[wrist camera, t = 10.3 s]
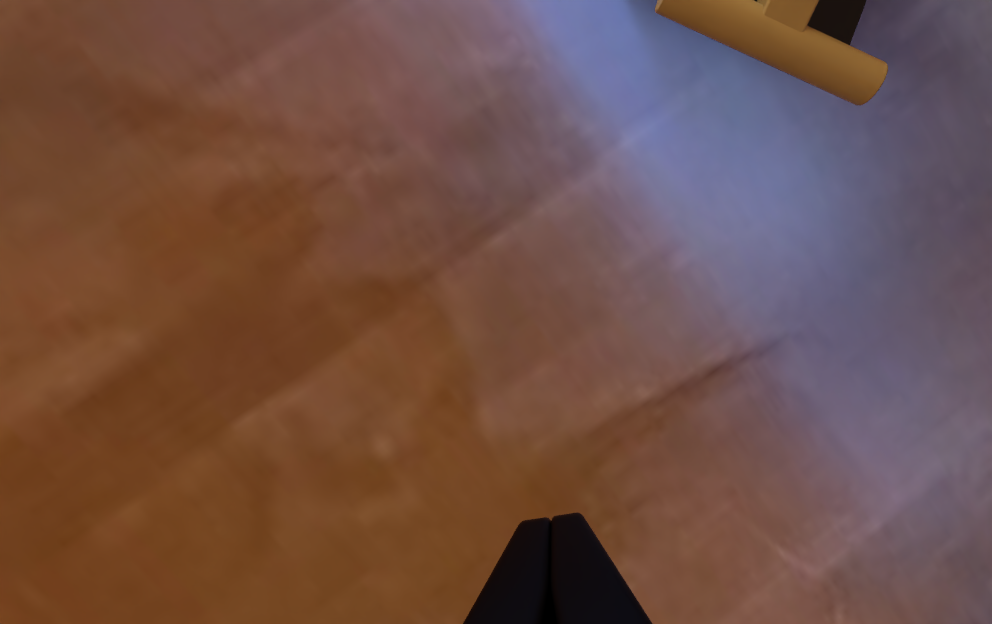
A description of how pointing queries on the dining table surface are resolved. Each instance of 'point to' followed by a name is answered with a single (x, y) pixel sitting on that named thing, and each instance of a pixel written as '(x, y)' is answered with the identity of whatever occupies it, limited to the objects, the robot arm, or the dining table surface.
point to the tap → (837, 18)
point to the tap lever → (783, 42)
